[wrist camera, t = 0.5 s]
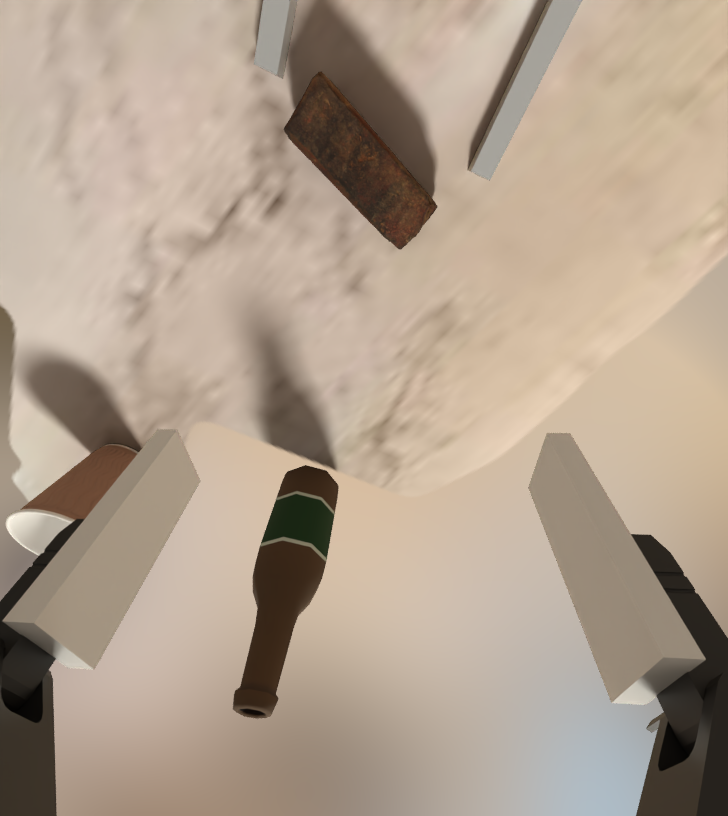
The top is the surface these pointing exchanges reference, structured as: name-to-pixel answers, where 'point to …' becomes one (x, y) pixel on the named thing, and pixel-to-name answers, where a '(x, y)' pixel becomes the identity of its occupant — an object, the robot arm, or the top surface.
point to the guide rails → (515, 98)
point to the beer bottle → (286, 580)
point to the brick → (358, 162)
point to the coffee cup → (69, 497)
